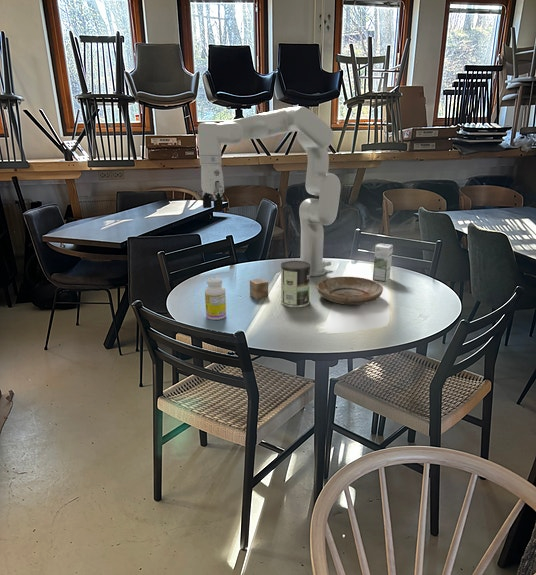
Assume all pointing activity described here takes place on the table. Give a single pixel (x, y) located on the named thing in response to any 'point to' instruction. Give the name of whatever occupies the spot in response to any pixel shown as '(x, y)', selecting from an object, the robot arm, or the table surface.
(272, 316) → the table surface
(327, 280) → the wooden plate
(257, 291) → the walnut block
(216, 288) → the supplement bottle
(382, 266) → the syrup box
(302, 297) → the coffee can
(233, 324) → the table surface
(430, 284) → the table surface
